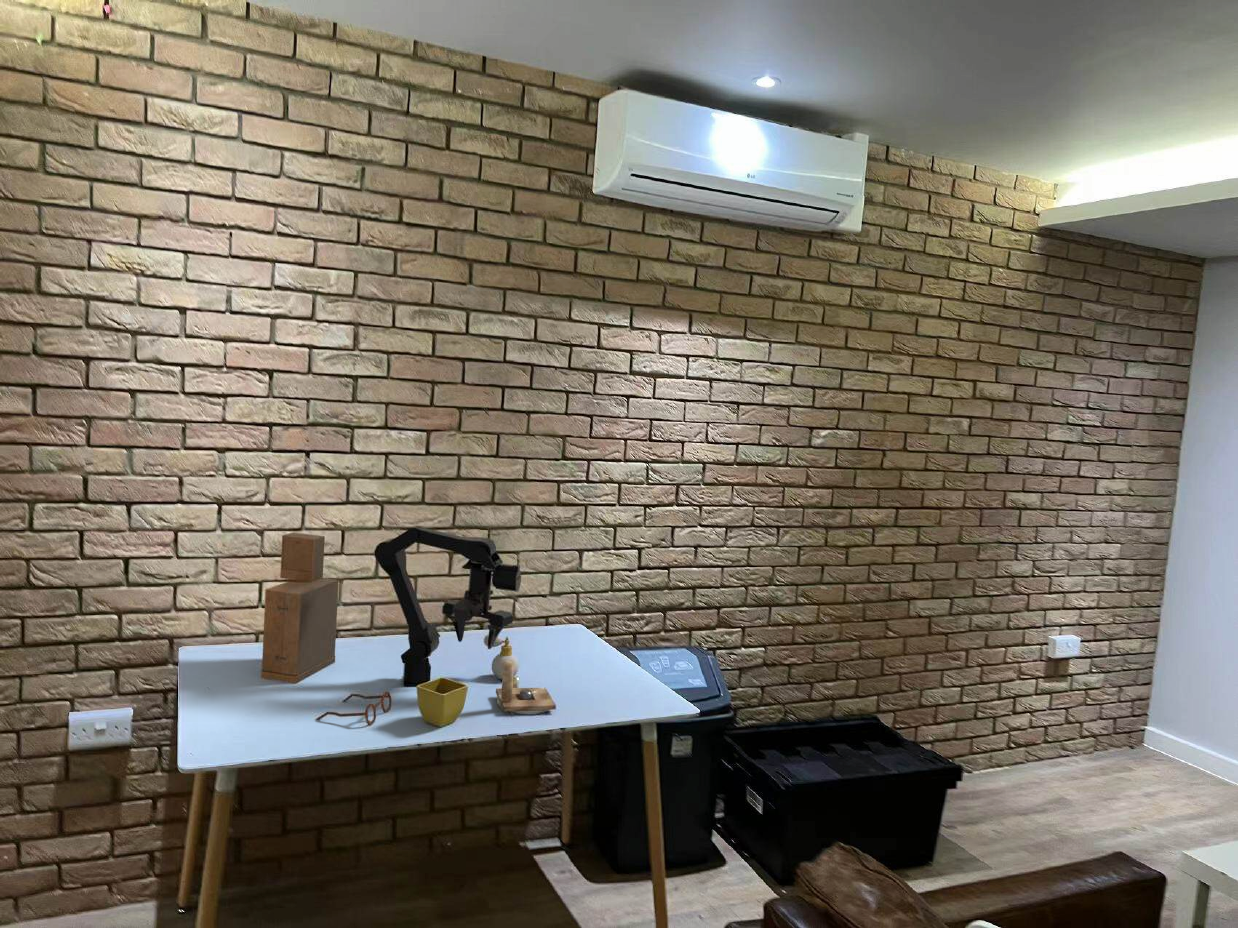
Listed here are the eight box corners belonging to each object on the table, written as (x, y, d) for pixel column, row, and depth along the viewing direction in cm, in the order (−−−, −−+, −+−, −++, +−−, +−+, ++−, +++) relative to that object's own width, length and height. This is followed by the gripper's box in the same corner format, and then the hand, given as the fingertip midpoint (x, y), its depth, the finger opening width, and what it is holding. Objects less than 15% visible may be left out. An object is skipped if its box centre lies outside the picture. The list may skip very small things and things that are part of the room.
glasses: (368, 729, 203) (369, 708, 203) (315, 721, 206) (316, 700, 205) (392, 709, 216) (393, 689, 216) (342, 702, 218) (343, 682, 218)
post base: (501, 716, 216) (502, 700, 216) (491, 691, 233) (492, 677, 232) (557, 714, 220) (559, 698, 220) (543, 690, 237) (545, 676, 236)
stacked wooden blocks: (288, 655, 249) (294, 532, 246) (335, 662, 246) (341, 537, 243) (247, 675, 230) (252, 542, 227) (296, 683, 228) (303, 548, 225)
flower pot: (440, 732, 204) (443, 694, 203) (413, 722, 208) (415, 685, 207) (466, 722, 211) (469, 685, 210) (439, 712, 216) (441, 676, 215)
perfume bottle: (521, 681, 242) (524, 639, 241) (486, 684, 238) (489, 640, 237) (513, 673, 249) (516, 631, 248) (479, 674, 245) (482, 632, 244)
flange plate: (503, 710, 217) (506, 666, 216) (495, 692, 229) (498, 650, 228) (555, 709, 221) (559, 666, 220) (545, 691, 233) (548, 650, 232)
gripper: (431, 585, 227) (426, 644, 229) (492, 598, 220) (487, 660, 221) (456, 578, 238) (452, 635, 239) (516, 591, 230) (511, 650, 231)
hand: (474, 645), depth 232 cm, fingers open, 9 cm apart
